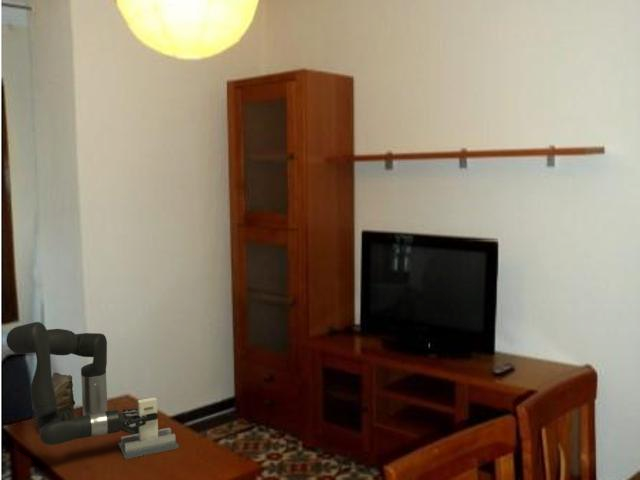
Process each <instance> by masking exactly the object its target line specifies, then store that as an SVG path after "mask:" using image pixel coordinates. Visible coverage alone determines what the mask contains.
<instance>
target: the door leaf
mask: <svg viewBox="0 0 640 480" xmlns="http://www.w3.org/2000/svg"><path fill="white" fill-rule="evenodd" d="M137 408H138V414H139V415H146V414H151V413H157V414H158V399H157V398H156V397H151V398H150V397H149V398H144V399H138V400H137ZM158 430H159V420H158V419H156V420H151V421H147V422H146V424H145V425H143V426H140V427H139V440H144V439H149V438H154V437H158Z"/></svg>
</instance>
